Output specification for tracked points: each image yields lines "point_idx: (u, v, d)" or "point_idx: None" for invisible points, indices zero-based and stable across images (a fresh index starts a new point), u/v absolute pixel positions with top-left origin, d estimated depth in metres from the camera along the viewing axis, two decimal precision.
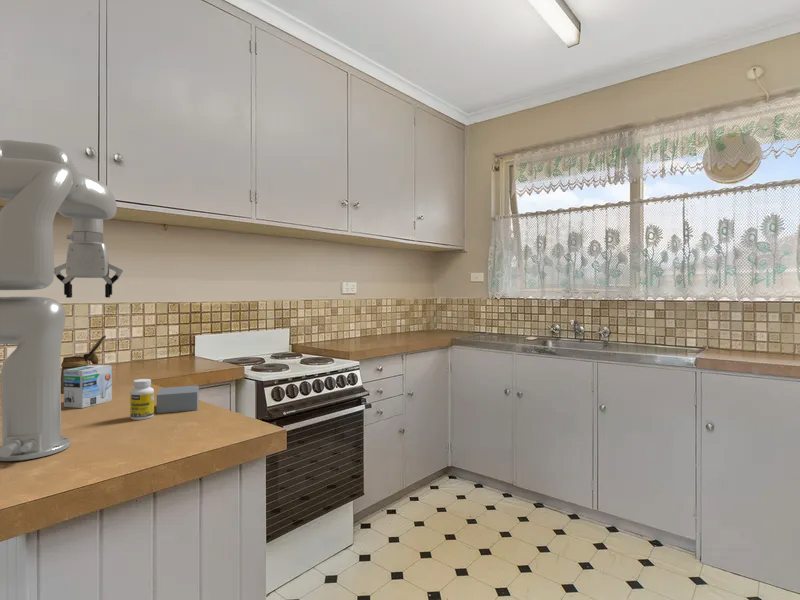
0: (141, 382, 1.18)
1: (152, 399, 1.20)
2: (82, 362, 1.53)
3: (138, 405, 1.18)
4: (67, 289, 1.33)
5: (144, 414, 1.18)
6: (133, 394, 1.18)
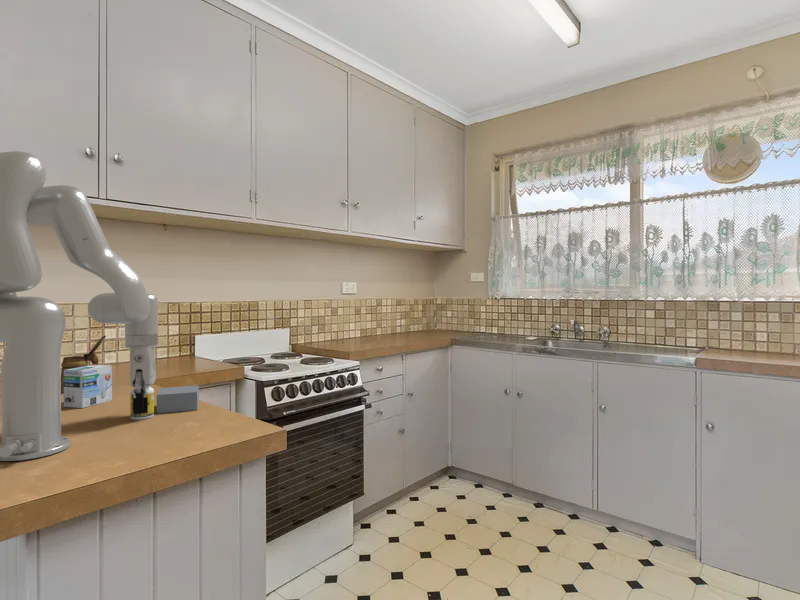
0: None
1: (152, 399, 1.20)
2: (82, 362, 1.53)
3: None
4: None
5: (144, 414, 1.18)
6: (133, 394, 1.18)
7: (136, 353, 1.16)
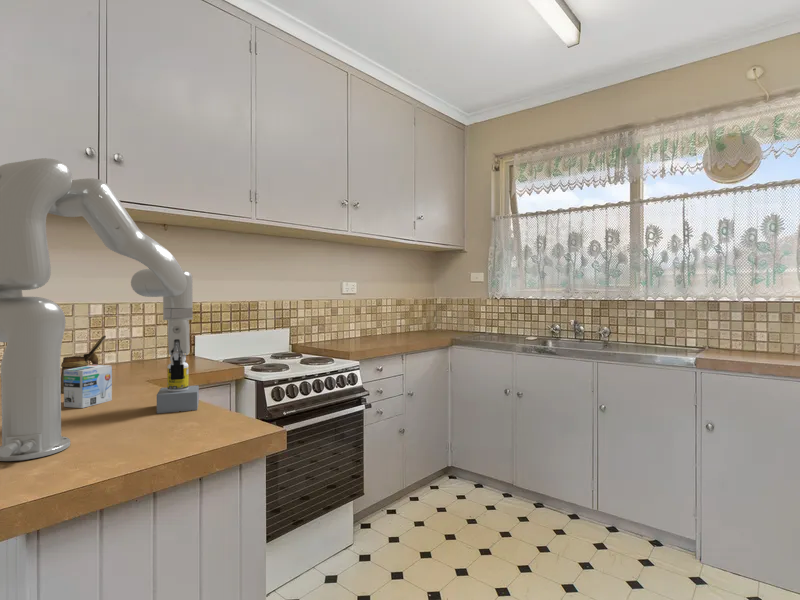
0: None
1: (187, 373, 1.30)
2: (82, 362, 1.53)
3: None
4: None
5: (180, 387, 1.28)
6: None
7: (174, 324, 1.26)
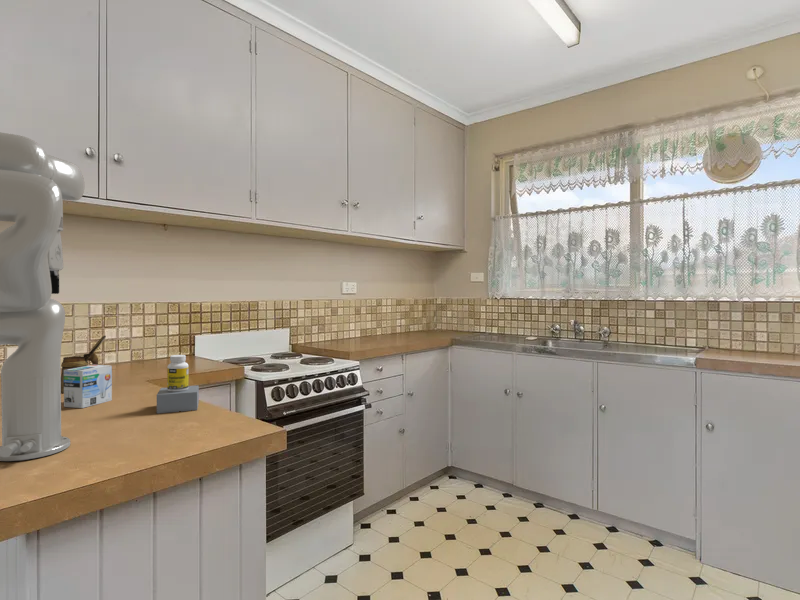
0: (177, 357, 1.28)
1: (187, 373, 1.30)
2: (82, 362, 1.53)
3: (174, 378, 1.28)
4: None
5: (180, 387, 1.28)
6: (171, 368, 1.28)
7: None
